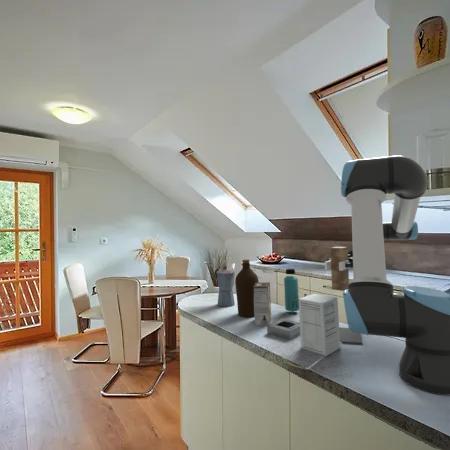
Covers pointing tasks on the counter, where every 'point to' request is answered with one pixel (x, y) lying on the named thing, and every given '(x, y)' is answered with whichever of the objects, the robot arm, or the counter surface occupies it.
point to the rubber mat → (349, 336)
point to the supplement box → (319, 324)
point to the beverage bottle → (291, 291)
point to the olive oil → (245, 290)
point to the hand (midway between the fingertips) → (333, 266)
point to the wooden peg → (338, 277)
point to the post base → (284, 328)
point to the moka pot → (225, 286)
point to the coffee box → (262, 303)
